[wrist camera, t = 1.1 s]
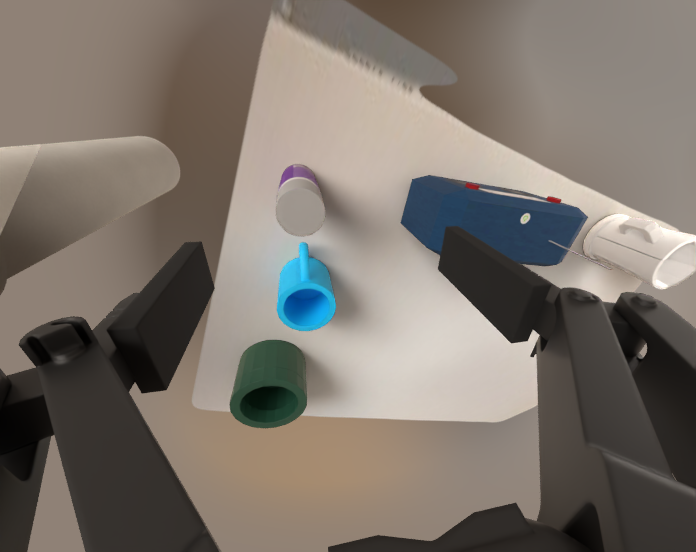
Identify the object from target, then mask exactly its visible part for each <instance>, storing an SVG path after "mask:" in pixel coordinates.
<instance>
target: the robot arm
mask: <svg viewBox="0 0 696 552" xmlns="http://www.w3.org/2000/svg"><path fill="white" fill-rule="evenodd" d="M438 270H439V271H440V272H441V273H442V274H443V275H444V276H445V277H446V278H447V279H448V280H449V281H450V282H451V283H452V284H453V285H454V286H455V287H456V288H457V289H458V290H459V291H460V292H461V293H462V294H463V295H464V296H465V297H466V298H467V299H468V300H469V301H470V302H471V303H472V304H473V305H474V306H475V307H476V308H477V309H478V310H479V311H480V312H481V313H482V314H483V315H484V316H485V317H486V318H487V319H488V320H489V321H490V322H491V323H492V324H493V325H494V326H495V327H496V328H497V329H498V330H499V331H500V332H501V333H502V334H503V335H504V336H505V337H506V338H507V339H508V341H509V342H510V343H517V342H524V341H528V339H529V337H530V334H531V332H532V330H535V331H536V332H537V333H538V334H539V335H540V336H539V338H538V340H537V342H536V344H535V347H534V349H533V351H532V353H531V356H530V357H534V355H535V354H537V382H538V414H539V415H538V418H539V451H540V453H539V454H540V489H541V505H540V511H539V515H538V519H537V521H534V520H531V519H527V518H524V516H523V514H522V512H521V510H520V509H519V507H518V506H517V504H516V503H513V504H508V505H504V506H500V507H496V508H491V509H487V510H483V511H479V512H474V513H473V514H471V515H470V516H468V517H467V518H466V519H464V520H463V521H461V522H460V523H459V524H457V525H456V526H454V527H453V528H452V529H450V530H449V531H447V532H446V533H445V534H443V535H442V536H441V537H439V538H438V539H436V540H433V541H424V540H415V539H406V538H397V537H388V536H380V535H377V536H373V537H369V538H365V539H360V540H356V541H352V542H347V543H343V544H339V545H335V546H330V547H328V552H696V328H695V327H693V326H692V325H691V324H690V323H688V322H687V321H686V320H685V319H683V318H682V317H681V316H680V315H678V314H677V313H676V312H675V311H673V310H672V309H671V308H670V307H668V306H667V305H666V304H664V303H663V302H661V301H659V300H657V299H655V298H653V297H652V296H649V295H646V294H642V293H640V294H639V293H633V292H625V293H621V295H620V297H619V299H618V300H617V302H616V303H609V302H602V300H601V299H600V298H599V297H597V296H596V295H594V294H592V293H590V292H587V291H584V290H581V289H577V288H562V289H560V288H559V287H557V286H555V285H554V284H552V283H551V282H549V281H547V280H546V279H544V278H542V277H541V276H538V274H536V273H534V272H533V271H532V272H531V270H530V269H528V268H526V267H525V266H523V265H521V264H518V263H517V262H515V261H513V260H512V259H510V258H509V257H507V256H505V255H504V254H502V253H501V252H499V251H497V250H496V249H494V248H493V247H491V246H489V245H488V244H486V243H485V242H483V241H481V240H480V239H478V238H477V237H475V236H473V235H472V234H470V233H469V232H467V231H465V230H464V229H462V228H461V227H459V226H449V227H446V228H445V233H444V239H443V244H442V250H441V255H440V261H439V266H438ZM214 289H215V288H214V284H213V281H212V277H211V273H210V270H209V266H208V263H207V259H206V256H205V252H204V249H203V245H202V242H186V243H184V244H183V245H182V247H181V248H180V249H179V250H178V251H177V252H176V253H175V254H174V255H173V256H172V258H171V259H170V260H169V261H168V262H167V263H166V264H165V265H164V266H163V268H162V269H161V270H160V271H159V272H158V273H157V274H156V275H155V276H154V278H153V279H152V280H151V281H150V282H149V283H148V284H147V285H146V286H145V288H144V289H143V290H142V291H141V292H140V293H133V294H132V295H130V296H128V297H127V298H125V299H124V300H122V301H121V302H120V303H119V304H118V305H117V306H116V307H115V308H114V309H113V311H111V312H110V313H109V314H108V315H107V316H106V318H105V319H103V320H102V321H101V322H100V323H99V324H98V326H96V327H95V328H94V329H93V331H92V330H91V328H90V326H89V325H88V323H87V322H86V320H85V319H84V318H82V317H67V318H61V319H58V320H54V321H51V322H48V323H46V324H44V325H41V326H39V327H37V328H35V329H34V330H32V331H30V332H29V333H27V334H26V335H25V336H24V337H23V338H22V339H21V340H20V343H19V346H20V347H21V348H22V350H23V351H24V352H25V353H26V355H27V356H28V357H29V359H30V360H31V361H32V362H33V363H34V365H35V366H36V368H32V369H29V370H26V371H22V372H19V373H15V374H12V375H8V376H6V375H5V374H4V373H3V371H2V370H1V369H0V552H27V550H28V544H29V540H30V535H31V530H32V526H33V521H34V516H35V511H36V506H37V502H38V497H39V492H40V487H41V482H42V477H43V473H44V468H45V463H46V458H47V454H48V449H49V444H50V439H51V436H52V435H55V438H56V442H57V446H58V449H59V453H60V457H61V461H62V465H63V469H64V472H65V476H66V479H67V483H68V487H69V491H70V495H71V499H72V503H73V506H74V510H75V513H76V518H77V521H78V525H79V529H80V533H81V537H82V540H83V544H84V548H85V551H86V552H221V550H220V549H219V547H218V545H217V543H216V542H215V540H214V538H213V537H212V535H211V533H210V531H209V530H208V528H207V526H206V525H205V523H204V521H203V519H202V518H201V516H200V514H199V512H198V511H197V509H196V507H195V506H194V504H193V502H192V500H191V499H190V497H189V496H188V494H187V492H186V490H185V488H184V487H183V485H182V483H181V481H180V480H179V478H178V476H177V475H176V473H175V471H174V469H173V468H172V466H171V464H170V463H169V461H168V459H167V457H166V456H165V454H164V452H163V450H162V449H161V447H160V445H159V444H158V442H157V440H156V438H155V437H154V435H153V433H152V432H151V430H150V428H149V426H148V425H147V423H146V421H145V420H144V418H143V416H142V414H141V413H140V411H139V409H138V407H137V406H136V404H135V402H134V401H133V399H132V397H131V395H130V394H129V391H130V389H131V388H132V385H133V384H134V382H136V384H137V386H138V388H139V389H140V391H141V393H148V392H156V391H163V390H167V388H168V386H169V384H170V382H171V380H172V377H173V375H174V373H175V371H176V369H177V367H178V365H179V363H180V361H181V359H182V356H183V354H184V352H185V350H186V348H187V346H188V344H189V341H190V339H191V337H192V335H193V333H194V331H195V329H196V327H197V325H198V322H199V320H200V318H201V316H202V314H203V312H204V310H205V308H206V306H207V304H208V301H209V299H210V297H211V295H212V293H213V291H214ZM646 343H647V353H646V355H645V356H644V358H643V357H642V356H641V354H640V353H639V352H640V351H641V350H642V348H643V347H644V345H645V344H646ZM672 474H673V475H674V477H675V478H676V480H677V481H676V480H675V478H674V477H673V475H672Z"/></svg>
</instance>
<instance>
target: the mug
mask: <svg viewBox="0 0 696 552" xmlns="http://www.w3.org/2000/svg"><path fill="white" fill-rule="evenodd" d="M299 255H300V258H295V259H293V260H292V261H290V262H288V263H287V264H286V265H285V266H284V267H283V269H282V271H281V273H280V281H279V292H278V302H277V312H278V316H279V318H280V319H281V321H282V322H283V323H284V324H285V325H287V326H288V327H290V328H292V329H295V330H299V331H311V330H315V329H318V328H320V327H322V326H324V325H326V324H327V323H328V322H329V321H330V320H331V319H332V317H333V315H334V314H335V309H336V303H335V298H334V293H333V289H332V284H331V280H330V276H329V271H328V270H327V268H326V266H325V265H324V264H323V263H322V262H320V261H319V260H317V259H314V258H311V257H309V252H308V244H307V243H305V242H302V243H300V244H299Z"/></svg>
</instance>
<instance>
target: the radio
mask: <svg viewBox="0 0 696 552" xmlns="http://www.w3.org/2000/svg"><path fill="white" fill-rule="evenodd" d="M560 202H561V199H558V198H554V197H549V196H548V197H547V198H544V197H540V196H537V195H533V194H530V193H527V192H523V191H518V190H512V189H506V188H500V187H495V186H489V185H483V184H477V183H472V182H466V181H460V180H454V179H448V178H443V177H437V176H431V175H428V176H424V177H420V178H416V179H412V183H411V187H410V190H409V194H408V198H407V201H406V205H405V209H404V212H403V216H402V220H401V224H402V225H403V226H404V227H405V228H406V229H408V230H409V231H410V232H411V233H412V234H413V235H414V236H415V237H416V238H417V239H418V240H419V241H420V242H421V243H422V244H424V245H425V246H426V247H427V248H428V249H430V250H432V251H433V252H435V253H437V254H439V255H441V250H442V244H443V239H444V233H445V228H446V227H449V226H459V227H461V228H462V229H464V230H465V231H467V232H469V233H470V234H472V235H473V236H475V237H477V238H478V239H480V240H481V241H483V242H485V243H486V244H488V245H489V246H491V247H493V248H494V249H496V250H497V251H499V252H501V253H502V254H504V255H505V256H507V257H509V258H510V259H512V260H513V261H515V262H517V263H518V264H527V265H538V266H551V265H557V264H559V263H560V262H562V260H563V259H564V257H565V255H566V254H567V252H568V250H569V251H571V252H573V253H575V254H577V255H580V256H582V257H584V258H586V259H588V260H590V261H592V262H595V263H597V264H599V265H601V266H603V267H605V268H608V269H610V270H613V269H612V268H609V267H607V266H605V265H603V264H601V263H598V262H596V261H594V260H592V259H590V258H588V257H585V256H583V255H581V254H579V253H577V252H574V251H572V250H570V249H569V248H570V247H571V245H572V243H573V242H574V240H575V238H576V237H577V235H578V233H579V232H580V230H581V228H582V226H583V225H584V223H585V221H586V220H587V218H588V217H587V216H586V215H585V214H584V213H583V212H582V211H581V210H580V209H579V208H577V207H574V206H570V205H567V204H564V203H560Z"/></svg>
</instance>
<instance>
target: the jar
mask: <svg viewBox="0 0 696 552" xmlns="http://www.w3.org/2000/svg"><path fill="white" fill-rule="evenodd" d="M306 406H307V388H306V367H305V358H304V355H303V353H302V352H301V350H300V349H299V348H297V347H296V346H295V345H293V344H291V343H289V342H285V341H281V340H267V341H262V342H259V343H256V344H254V345H252V346H251V347H249V348H248V349H247V350H246V351H245V352H244V353H243V355H242V356H241V359H240V363H239V366H238V370H237V374H236V379H235V383H234V387H233V392H232V396H231V400H230V410H231V413H232V414H233V416H234V417H235V418H236V419H237V420H238V421H240V422H241V423H243V424H245V425H248V426H251V427H256V428H274V427H278V426H282V425H286V424H288V423H290V422H292V421H293V420H295V419H296V418H298V417H299V416H300V415H301V414H302V413H303V411H304V410H305V408H306Z"/></svg>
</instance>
